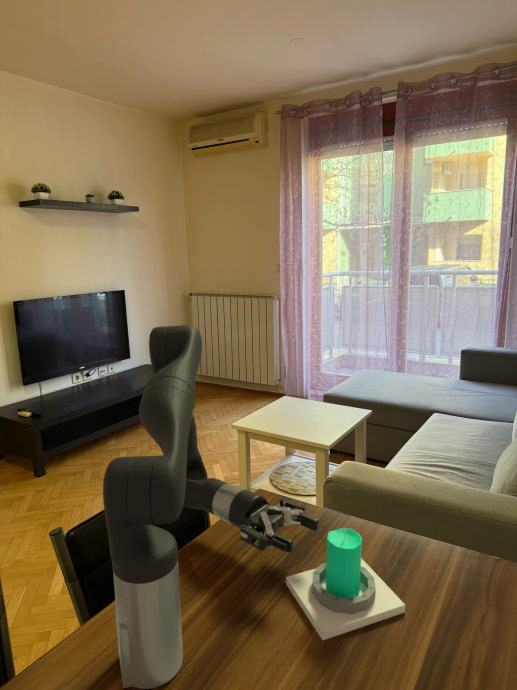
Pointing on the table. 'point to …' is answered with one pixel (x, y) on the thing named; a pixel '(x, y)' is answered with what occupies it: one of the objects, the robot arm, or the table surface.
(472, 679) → the table surface
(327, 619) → the jig plate
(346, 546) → the candle
